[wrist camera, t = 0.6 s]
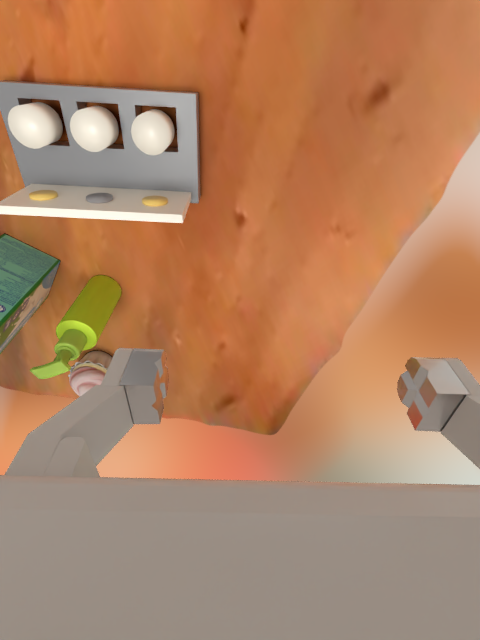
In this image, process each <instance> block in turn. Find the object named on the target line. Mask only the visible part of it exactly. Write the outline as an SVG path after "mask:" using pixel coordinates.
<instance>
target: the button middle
mask: <svg viewBox="0 0 480 640" xmlns="http://www.w3.org/2000/svg"><path fill="white" fill-rule="evenodd" d="M70 130H71V133H72V136H73V138H74V139H75V141H76V142H77V143H78V144H79V145H80V146H81V147H82V148H84V149H85V150H87V151H90V152H99V151H101V150H103V149H105V148H106V147H108V146H110V145H111V144H113V143H114V142H115V141H116V140H117V138H118V135H119V126H118V122H117V120H116V118H115V116H114V115H113V114H112V113H111V112H110V111H109V110H108V109H106V108H104V107H102V106H91V107H88V108H84V109H80V110H78V111H76V112H75V113H74V114H73V115H72V117H71V120H70Z"/></svg>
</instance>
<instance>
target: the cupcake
mask: <svg viewBox="0 0 480 640" xmlns="http://www.w3.org/2000/svg"><path fill="white" fill-rule="evenodd" d="M111 360H112V357H111V356H110V355H109V354H107V353H105V352H102V351H92V352H89V353H87V354H86V355H85V356H84V357H83V358H82V359H81V360H80V361H78V362H76V363H75V365H73V366H72V367H71V369H70V372H71V374H70V375H69V376H68V377H69V382H70V385H71V387H72V388H73V390H74V391H75V393H76V394H77V395H79V396H82V395H83V394H84V393H86V392H87V391H88V390H90V389H91V388H93V387H94V386H95V385H101V383H102V381H103V379H104V376H105V374H106V372H107V370H108V367H109V365H110V363H111Z"/></svg>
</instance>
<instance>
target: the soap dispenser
mask: <svg viewBox="0 0 480 640" xmlns="http://www.w3.org/2000/svg"><path fill="white" fill-rule="evenodd" d="M120 296H121V288H120V286H119V284H118V283H117V282H116V281H115V280H114V279H112V278H110V277H108V276H105V275H97V276H94V277H92V278H91V279H90V280H89V282H88V283H87V284H86V286H85V287H84V289H83V290H82V291H81V293H80V294H79V296H78V297H77V299H76V300H75V301H74V303H73V304H72V306H71V307H70V309H69V310H68V311H67V313H66V314H65V316H64V317H63V319H62V320H61V321H60V323H59V324H58V326H57V328H56V335H57V337H58V339H59V341H58V343H57V344H56V346H55V348H54V350H55V353H56V354H57V356H56V358H55V359H54V361H53V362H50V363H48V364H45V365H42V366H38V367H33V368H32V369H30V371H31V372H32V373H33V374H34V375H35V376H36V377H38V378H39V379H45V378H50V377H53V376H56V375H59V374H62V373H65V372H67V371H70V369H71V367H70V366H69V365H68V362H69V360H75V359H77V358H78V357H79V355H80V354H81V352H82V350H89V349H91V348H93V347H94V346H95V345H96V343H97V341H98V339H99V337H100V335H101V333H102V331H103V329H104V327H105V325H106V324H107V322H108V320H109V318H110V316H111V314H112V312H113V310H114V308H115V306H116V304H117V302H118V300H119V298H120Z"/></svg>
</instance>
